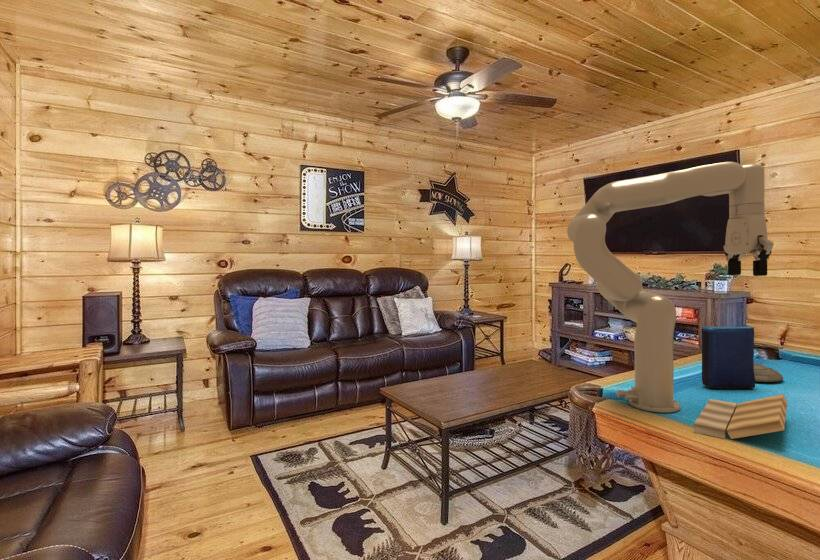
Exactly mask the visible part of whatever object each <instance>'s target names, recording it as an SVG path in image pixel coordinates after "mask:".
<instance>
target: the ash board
mask: <svg viewBox="0 0 820 560" xmlns="http://www.w3.org/2000/svg"><path fill="white" fill-rule="evenodd" d="M737 405H738V403H737V402H732V401H725V400H719V399H718V400H717V399H714V398H713V399H712V398H709V400H708V401H707V403H706V405H705V406H704V407H703V409H702V410H701V412H700V414H699V415H698V417H697V418H696V420H695V421H694V423H693V433H695V434H700V435H705V436H706V435H707V436H710V437H715V438H719V439H720V438H721V439H726V437H727V435H728V432H727V428H728V426H729V423H730V421H731V419H732V417H733V414H734V412H735V410H736V408H737Z"/></svg>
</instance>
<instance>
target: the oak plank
mask: <svg viewBox="0 0 820 560" xmlns="http://www.w3.org/2000/svg"><path fill="white" fill-rule="evenodd" d="M787 409H788V401H787V398H786V396H785V395H784V394H783V393H781V394H777V395H773V396H768V397H762V398H758V399H753V400H749V401H748V400H747V401H744V402H739V403H737V408H736V410H735V412H734V414H733V417H732V419H731V421H730V423H729V426H728V428H727V435H728V436H729V438H730V439H731V440H732V439H733V440H734V439H740V438H746V437H751V436H758V435H764V434H765V435H766V434H770V433H777V432H782V431H785V425H786V419H787V418H786V417H787Z"/></svg>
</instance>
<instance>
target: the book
mask: <svg viewBox="0 0 820 560" xmlns="http://www.w3.org/2000/svg"><path fill="white" fill-rule="evenodd" d="M754 356H755V327H753V326H750V325H748V324H744V325H726V326H720V325H719V326H712V325H711V326H707V325H706V326H702V328H701V382H702V385H703V386H705V387H708V388H710V389H711V388H712V389H755V388H756V381H755V375H754V363H755V361H754Z"/></svg>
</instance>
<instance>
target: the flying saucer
mask: <svg viewBox="0 0 820 560" xmlns="http://www.w3.org/2000/svg"><path fill="white" fill-rule="evenodd" d="M754 375H755V383H756V382H757V383H759V382H760V383H774V382H775V383H776V382H780V381H783V380H784V379H785V378H784V376H783V375H782V374H781V373H780V372H779V371H777V369H776V370H775V369H774V368H772V367H769V366H765V365H764V364H761V363H756V362H754Z"/></svg>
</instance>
